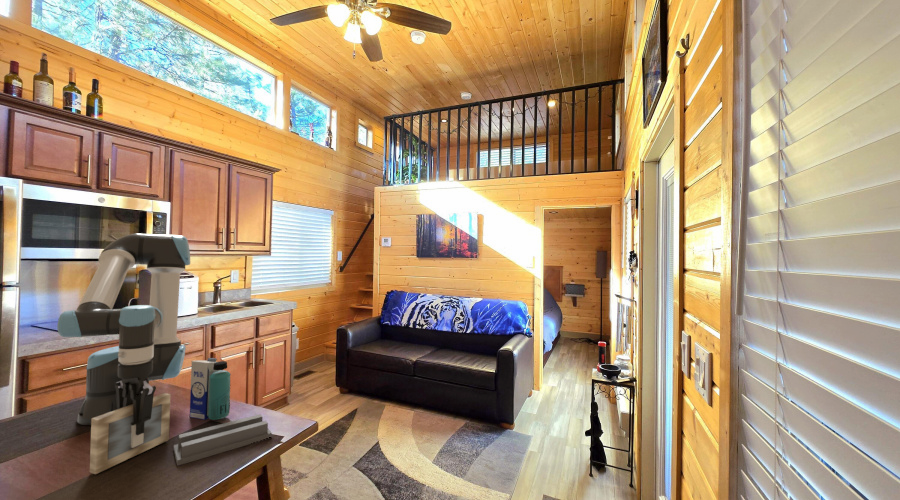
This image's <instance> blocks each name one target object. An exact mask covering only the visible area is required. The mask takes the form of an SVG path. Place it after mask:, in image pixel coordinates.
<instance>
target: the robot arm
mask: <svg viewBox="0 0 900 500" xmlns="http://www.w3.org/2000/svg"><path fill="white" fill-rule="evenodd" d="M98 262H99V265H98V266H97V269H96V270H95V273H94V274H93V277H92V278H91V280H90V283H89V285H88V286H87V288H86V290H85V292H84V295H83V296H82V298H81V300H80V302H79V304H78V306H77V308H76V309H75V310H74V309H72V310H66V311H63V312H62V313H61V314H60V315H59V317H58V321H57V333H58V335H59V336H60V337H62V338H85V337H86V338H87V337H94V336H95V337H98V336H100V337H101V336H113V335H114V336H115V335H119V337H118V345H117V346H113V347H107V348H104V349H100V350H97V351H95V352H93V353H91V354H90V355H89V356H88V357H87V362H86V363H87V364H86V366H85V367H86V368H85V369H86V379H85V380H86V382H85V384H86V386H85V399H84V401H83V402H82V405H81V406H80V409H79V411H78V414H77V424H79V425H82V426H91V419H92V418H94V417H97V416H100V415H103V414H106V413H109V412H112V411H114V410H117V409H120V408H123V407H126V406H129V405H132V404H133V414H134V422H133V423H131V448H133V447H136V446H138V445H140V444H142V443H143V439H144V423H145V421H147V420H150V419H151V414H152V405H153V397H155V395H154V394H155V392H156V390H157V387H156V386H155V385H152V386H151V385H150V382H151V381H160V380H162V381H164V380H167V379H173V378H176V377H178V376H179V375H180V374H181V372H182V368H183V364H184V359H185V355H186V348H187V347H186V345H184V344H182V340H181V339H180V338H179V337H178V336H177V333H178V332H177V331H178V317H179V316H178V313H179V300H180V299H179V298H180V283H181V281H180V280H181V279H180V278H181V274H182V273H183V272H185V270H186V266H190V265H191V252H190V245H189V240H188V238H187V237H186V236H185V235H178V234H173V233H172V234H162V233H157V234H156V233H131V234H127V235H124V236H121V237H119V238H117V239H115V240H113V241H112V242H110V243H109V244H108V245H106V247H104V249H103V250H102V251H101V252H100V254H99V257H98ZM135 265H146V270H147V271H148V272H150V273H151V277H150V278H151V280H150V281H151V282H150V293H149V304H139V305H138V304H137V305H129V306H125V307H122V308H114V305H115V303H116V301H117V298H118V295H119V293H120V291H121V288H122V286H123V285H124V281H125V279H126V276H127V274H128V271H129V270H131V269H133V268H134V266H135Z"/></svg>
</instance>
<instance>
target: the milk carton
mask: <svg viewBox="0 0 900 500" xmlns="http://www.w3.org/2000/svg"><path fill="white" fill-rule="evenodd" d="M217 360H218V358H217V357H207V360H201V359H200V360H197V359H196V360H191V366H190V367H191V370H190V393H189V394H190V395H189V396H190V397H189V418H192V419H197V420H198V419H199V420H204V421H206V420H208V419H209V417H208V409H209V403H208V402H209V382H210V378H209V377H210V375H211V374H213V373H214V372H216V371H221V370H213V367H214V363H216V362H217Z"/></svg>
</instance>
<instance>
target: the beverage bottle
mask: <svg viewBox="0 0 900 500" xmlns="http://www.w3.org/2000/svg"><path fill="white" fill-rule="evenodd" d="M226 369H228V362H227V361H225V360H222V361H216V363H214V367H213V370H221V371H216V372H214V373H213V374H211V375H210V377H209V378H210V382H209V402H208V403H209V409H208V417H209V418H208V419H209V420H220V419H225V418H227V417H228V416H229V414H230V410H231V375H232V374H231V373H230V371H228V370H226Z"/></svg>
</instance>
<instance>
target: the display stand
mask: <svg viewBox="0 0 900 500" xmlns="http://www.w3.org/2000/svg"><path fill="white" fill-rule="evenodd" d="M269 437H272V431H271V430H270V428H269V423H268V422H267V420H263V415H262V414H261V413H260V414H259V413H258V414H255V415H252V416H248V417H244V418H240V419H235V420H232V421H228V422H227V421H226V422H224V423H221V424H217V425H212V426H209V427H205V428H200V429H196V430H193V431H189V432H184V433H180V434H178V439H177V440H178V442H177V444H173V454H174V458H175V461H176V462H175V463H176V467H177V466H181V465H185V464H188V463H191V462H194V461H198V460H202V459H204V458H208V457H211V456H212V457H213V456H215V455H218V454H222V453H224V452H228V451H231V450H236V449H238V448H241V447H244V446H248V445H252V444H254V443H253V442H255V443H257V442H256V441H258V442H260V441H259V440H262V439H265V438H268V439H270V438H269ZM265 440H266V439H265ZM262 441H263V440H262ZM251 443H252V444H251Z"/></svg>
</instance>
